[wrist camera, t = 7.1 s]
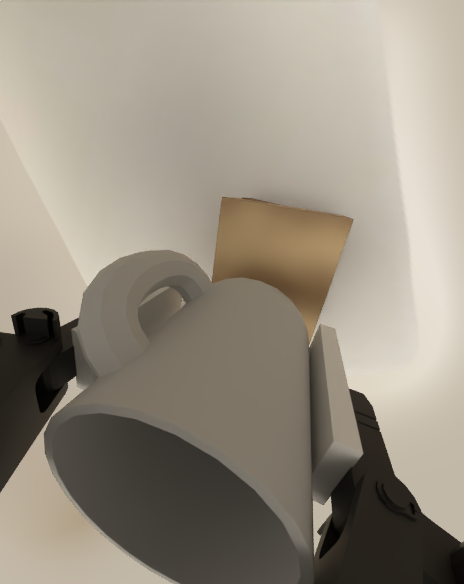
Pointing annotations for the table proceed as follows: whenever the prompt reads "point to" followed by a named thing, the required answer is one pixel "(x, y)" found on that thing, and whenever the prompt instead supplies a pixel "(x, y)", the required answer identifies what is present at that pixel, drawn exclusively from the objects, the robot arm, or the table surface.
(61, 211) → the table surface
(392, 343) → the table surface
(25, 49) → the table surface
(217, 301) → the cup
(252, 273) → the slab upper
